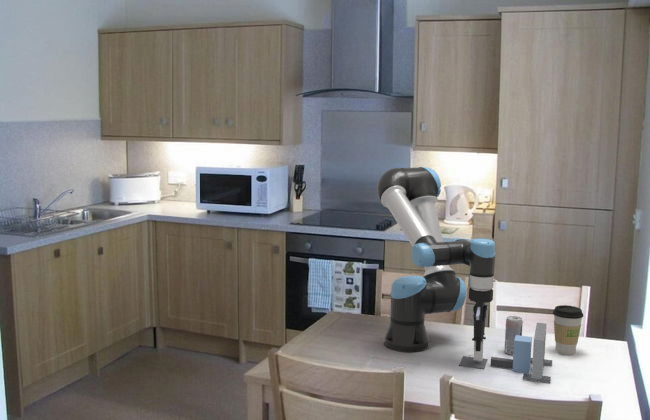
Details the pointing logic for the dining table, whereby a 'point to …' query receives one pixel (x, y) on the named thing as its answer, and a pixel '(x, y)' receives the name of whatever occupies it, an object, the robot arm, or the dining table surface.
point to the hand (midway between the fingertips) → (478, 359)
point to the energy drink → (512, 333)
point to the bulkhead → (539, 356)
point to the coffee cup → (567, 328)
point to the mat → (472, 362)
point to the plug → (516, 356)
